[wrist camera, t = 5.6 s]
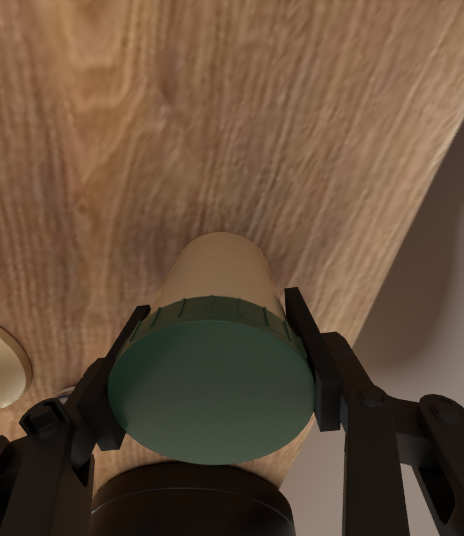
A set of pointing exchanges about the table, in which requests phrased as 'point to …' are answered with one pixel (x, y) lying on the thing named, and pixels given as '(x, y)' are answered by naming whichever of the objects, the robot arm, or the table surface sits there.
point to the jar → (221, 273)
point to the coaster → (12, 370)
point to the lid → (212, 382)
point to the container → (190, 504)
